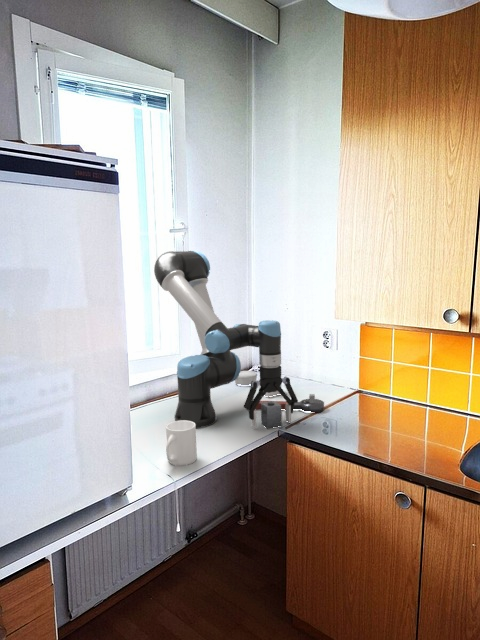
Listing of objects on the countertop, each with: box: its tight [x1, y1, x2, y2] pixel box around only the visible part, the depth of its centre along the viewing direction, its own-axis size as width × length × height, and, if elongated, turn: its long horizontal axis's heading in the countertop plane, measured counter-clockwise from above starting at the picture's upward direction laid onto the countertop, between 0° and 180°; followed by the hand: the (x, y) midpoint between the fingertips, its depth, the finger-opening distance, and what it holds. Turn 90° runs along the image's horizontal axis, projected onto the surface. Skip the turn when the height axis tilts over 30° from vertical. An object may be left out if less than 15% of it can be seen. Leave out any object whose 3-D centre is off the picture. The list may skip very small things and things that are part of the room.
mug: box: [165, 420, 198, 467], centre depth 135 cm, size 9×12×11 cm
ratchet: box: [255, 393, 325, 414], centre depth 180 cm, size 29×9×6 cm, turn 81°
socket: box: [260, 400, 283, 430], centre depth 163 cm, size 5×5×8 cm
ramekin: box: [234, 370, 258, 385], centre depth 217 cm, size 11×11×5 cm
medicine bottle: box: [258, 377, 282, 397], centre depth 199 cm, size 7×7×12 cm
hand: (271, 425), depth 163 cm, fingers open, 12 cm apart
